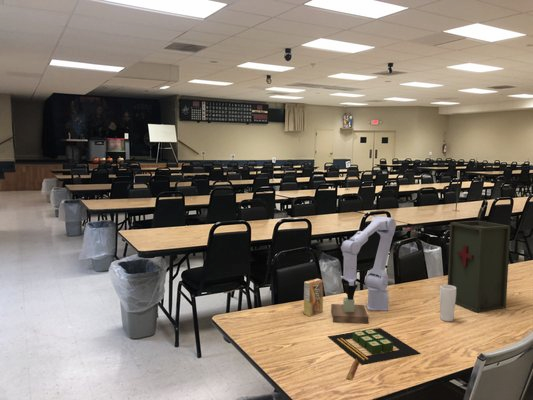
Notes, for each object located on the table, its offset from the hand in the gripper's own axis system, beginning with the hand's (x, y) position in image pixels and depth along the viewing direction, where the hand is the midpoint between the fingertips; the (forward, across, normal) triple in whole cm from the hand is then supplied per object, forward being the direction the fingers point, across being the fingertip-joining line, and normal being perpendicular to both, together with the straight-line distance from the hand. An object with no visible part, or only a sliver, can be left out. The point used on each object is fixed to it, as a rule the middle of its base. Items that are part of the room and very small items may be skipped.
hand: (349, 296), depth 191 cm
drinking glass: (+10, 0, +43) cm, 44 cm away
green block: (+6, 0, 0) cm, 6 cm away
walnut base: (+9, 0, 0) cm, 9 cm away
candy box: (+10, -3, -16) cm, 19 cm away
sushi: (+10, +29, +6) cm, 31 cm away
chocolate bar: (+10, +50, -4) cm, 51 cm away
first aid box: (+10, -22, +64) cm, 68 cm away
